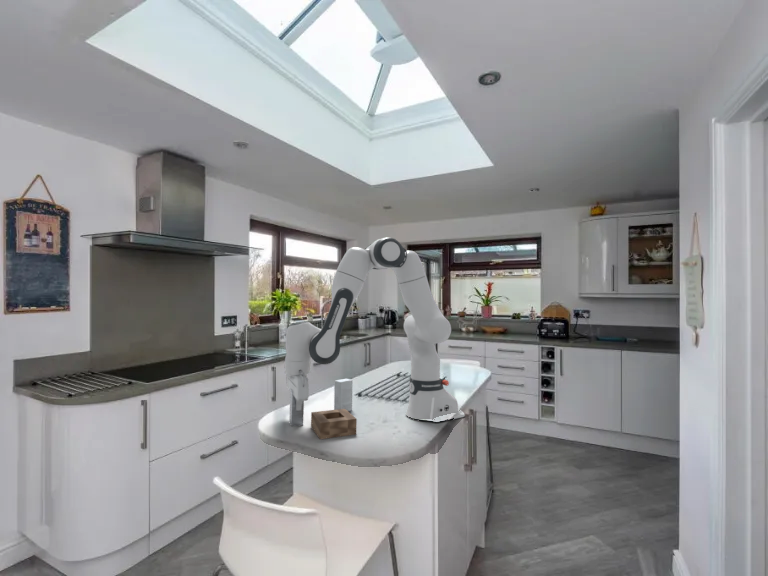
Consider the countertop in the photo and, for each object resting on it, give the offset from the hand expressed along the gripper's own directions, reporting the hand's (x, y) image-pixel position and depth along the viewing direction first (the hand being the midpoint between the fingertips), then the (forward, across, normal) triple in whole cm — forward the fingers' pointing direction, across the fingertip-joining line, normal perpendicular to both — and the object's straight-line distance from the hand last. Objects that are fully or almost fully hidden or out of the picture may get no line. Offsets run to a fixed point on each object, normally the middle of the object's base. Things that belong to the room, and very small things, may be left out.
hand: (296, 407), depth 131 cm
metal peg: (+6, 0, 0) cm, 6 cm away
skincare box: (+6, +9, -20) cm, 23 cm away
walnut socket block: (+6, -11, -10) cm, 16 cm away
